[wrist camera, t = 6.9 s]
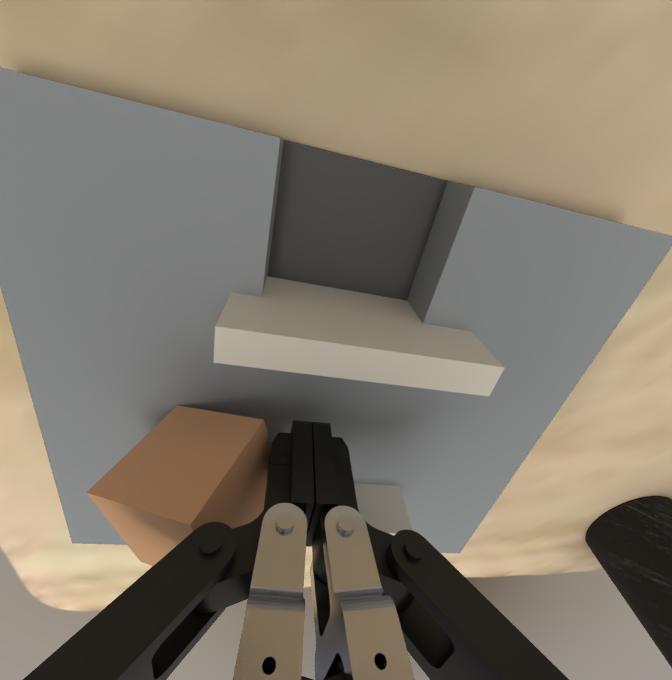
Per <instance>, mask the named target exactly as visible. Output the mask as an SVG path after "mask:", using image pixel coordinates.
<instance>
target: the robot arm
mask: <svg viewBox="0 0 672 680" xmlns="http://www.w3.org/2000/svg"><path fill="white" fill-rule="evenodd" d="M351 470H352V468H351V462H350V455H349V449H348V447H347V445H346V443H345V442H344V440H343V439H342V438H341V437H332V432H331V424H330V423H322V422H312V423H311V422H310V421H299V420H293V422H292V427H291V432H290V433H281V432H279V433H278V434H277V436H276V437H275V439H274V440H273V442H272V446H271V453H270V459H269V465H268V473H267V483H266V492H265V501H264V510H263V511H262V513H261V514H260V515H259V516H258V517H257V518H256V519H255V520H254V521H252V522H250V523H248V524H245V525H242V526H239V527H236V528H231V527H229V526H228V525H227V524H224V523H221V522H209V523H206V524H203V525H201V526H199V527H198V528H197V529H195V530H194V531H193V532H192V533H191V534H189V535H188V536H187V537H186V538H185V539H184V540H183V541H181V542H180V543H179V544H178V545H177V546H176V547H175V548H173V549H172V550H171V551H170V552H169V553H168V554H166V555H165V556H164V557H163V558H162V559H161V560H160V561H158V562H157V563H156V564H155V565H154V566H153V567H152V568H150V569H149V570H148V571H147V572H146V573H145V574H144V575H142V576H141V577H140V578H139V579H138V580H137V581H136V582H134V583H133V584H132V585H131V586H130V587H129V588H128V589H126V590H125V591H124V592H123V593H122V594H121V595H119V596H118V597H117V598H116V599H115V600H114V601H113V602H111V603H110V604H109V605H108V606H107V607H106V608H105V609H103V610H102V611H101V612H100V613H99V614H98V615H97V616H95V617H94V618H93V619H92V620H91V621H90V622H89V623H87V624H86V625H85V626H84V627H83V628H82V629H81V630H79V631H78V632H77V633H76V634H75V635H74V636H72V637H71V638H70V639H69V640H68V641H67V642H66V643H64V644H63V645H62V646H61V647H60V648H59V649H58V650H57V651H55V652H54V653H53V654H52V655H51V656H50V657H48V658H47V659H46V660H45V661H44V662H43V663H42V664H40V665H39V666H38V667H37V668H36V669H35V670H34V671H32V672H31V673H30V674H29V675H28V676H27V677H25V678H24V679H23V680H166V679H167V678H168V677H169V675H170V674H171V673H172V672H173V670H174V669H175V668H176V667H177V666H178V665H179V663H180V662H181V661H182V660H183V659H184V657H185V656H186V655H187V654H188V653H189V652H190V650H191V649H192V648H193V647H194V646H195V644H196V643H197V642H198V641H199V640H200V639H201V637H202V636H203V635H204V634H205V633H206V631H207V630H208V629H209V628H210V627H211V625H212V624H213V623H214V622H215V621H216V619H217V618H218V617H219V616H220V615H221V613H222V612H223V611H224V610H225V608H226V607H228V606H231V605H233V604H236V603H238V602H241V601H243V600H246V599H248V601H247V606H246V611H245V617H244V622H243V628H242V633H241V638H240V644H239V649H238V654H237V660H236V665H235V670H234V676H233V680H312V679H309V678H306V677H303V676H301V672H302V654H303V637H304V636H303V635H304V619H305V600H304V598H303V586H304V570H305V554H306V546H312V550H313V560H312V563H311V567H310V577H311V588H312V599H313V611H314V623H315V633H316V651H315V680H415V679H414V674H413V671H412V667H411V663H410V659H409V655H408V652H409V653H410V654H411V656H412V657H413V658H414V659H415V661H416V662H417V663H418V665H419V666H420V667H421V668H422V670H423V671H424V672H425V673H426V675H427V676H428V677H429V678H430V680H569V679H568V678H567V677H566V676H565V675H563V673H562V672H561V671H559V670H558V669H557V668H556V667H555V666H554V665H553V664H552V663H551V662H550V661H549V660H548V659H547V658H546V657H545V656H544V655H543V654H542V653H541V652H540V651H539V650H538V649H537V648H536V647H535V646H534V645H533V644H532V643H531V642H530V641H529V640H528V639H527V638H526V637H525V636H524V635H523V634H522V633H521V632H520V631H519V630H518V629H517V628H516V627H515V626H514V625H513V624H512V623H511V622H510V621H509V620H508V619H507V618H506V617H505V616H504V615H502V613H501V612H499V610H498V609H496V608H495V607H494V606H493V605H492V604H491V603H490V602H489V601H488V600H487V599H486V598H485V597H484V596H483V595H482V594H481V593H480V592H479V591H478V590H477V589H476V588H475V587H474V586H473V585H472V584H471V583H470V582H469V581H468V580H467V579H466V578H465V577H464V576H463V575H462V574H461V573H460V572H459V571H458V570H457V569H456V568H455V567H454V566H453V565H452V564H451V563H450V562H449V561H448V560H447V559H446V558H445V557H444V556H443V555H442V554H441V553H440V552H439V551H438V550H436V549H435V548H434V547H433V546H432V545H431V544H430V543H429V542H428V541H427V540H426V539H425V538H424V537H423V536H422V535H420V534H419V533H417V532H415V531H412V530H401V531H398V532H397V533H396V534H395V535H391V534H389V533H386V532H384V531H381V530H378V529H376V528H374V527H372V526H371V525H370V524H368V523H367V522H366V521H365V520H364V518H363V517H362V515H361V514H360V512H359V509H358V506H357V499H356V493H355V487H354V480H353V474H352V471H351ZM407 651H408V652H407Z"/></svg>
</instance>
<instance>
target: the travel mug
mask: <svg viewBox="0 0 672 680" xmlns="http://www.w3.org/2000/svg"><path fill="white" fill-rule="evenodd" d="M586 541H587V544H588V546H589V547H590V549H591V551H592V552H593V554H594V555H595V556H596V558H597V559H598V561H599V562H600V564H601V565H602V567H603V568H604V570H605V571H606V573H607V574H608V575H609V577H610V578H611V580H612V581H613V583H614V584H615V586H616V587H617V589H618V590H619V592H620V593H621V595H622V596H623V597H624V599H625V600H626V602H627V603H628V605H629V606H630V608H631V609H632V610H633V612H634V613H635V615H636V616H637V618H638V619H639V621H640V622H641V623H642V625H643V626H644V628H645V629H646V631H647V632H648V634H649V635H650V637H651V638H652V640H653V641H654V643H655V644H656V645H657V647H658V648H659V650H660V651H661V653H662V654H663V655H664V657H665V658H666V660H667V661H668V663H669V664H670V666H671V667H672V500H671V499H669V498H666V497H645V498H640V499H637V500H633V501H630V502H627V503H625V504H622V505H620V506H618V507H616V508H614V509H612V510H610V511H608V512H607V513H605V514H604V515H602V516H601V517H600V518H599V519H597V520H596V521H595V522H594V523H593V524H592V525H591V527H590V528H589V530H588V532H587V534H586Z"/></svg>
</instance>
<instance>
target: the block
mask: <svg viewBox="0 0 672 680" xmlns="http://www.w3.org/2000/svg"><path fill="white" fill-rule="evenodd" d="M271 446H272V445H271V441H270V438H269V435H268V432H267V428H266V425H265V422H264V420H263V419H257V418H251V417H245V416H239V415H233V414H227V413H221V412H215V411H209V410H203V409H197V408H191V407H184V406H178V405H177V406H176V407H175V408H174V409H173V410H172V411H171V412H170V413H169V414H168V415H167V416H166V417H165V418H164V419H163V420H162V421H161V422H159V423H158V424H157V425H156V426H155V427H154V428H153V429H152V430H151V431H150V432H149V433H148V434H147V435H146V436H145V437H144V438H143V439H142V440H141V441H140V442H139V443H138V444H137V445H135V446H134V447H133V448H132V449H131V450H130V451H129V452H128V453H127V454H126V455H125V456H124V457H123V458H122V459H121V460H120V461H119V462H118V463H117V464H116V465H115V466H114V467H113V468H111V469H110V470H109V471H108V472H107V473H106V474H105V475H104V476H103V477H102V478H101V479H100V480H99V481H98V482H97V483H96V484H95V485H94V486H93V487H92V488H91V489H90V490H88V491H87V492H86V493H87V494H88V496H89V497H90V498H91V499H92V501H93V502H94V503H95V504H96V506H97V507H98V508H99V509H100V511H101V512H102V513H103V515H104V516H105V517H106V518H107V520H108V521H109V522H110V523H111V525H112V526H113V527H114V528H115V530H116V531H117V532H118V533H119V535H120V536H121V537H122V539H123V540H124V541H125V542H126V544H127V545H128V546H129V547H130V549H131V550H132V551H133V552H134V554H135V555H136V556H137V558H138V559H139V560H140V561H141V562H144V563H147V564H149V565H152V566H154V565H155V564H156V563H157V562H158V561H160V560H161V559H162V558H163V557H164V556H165V555H166V554H168V553H169V552H170V551H171V550H172V549H173V548H175V547H176V546H177V545H178V544H179V543H180V542H181V541H183V540H184V539H185V538H186V537H187V536H188V535H189V534H191V533H192V532H193V531H194V530H195V529H197V528H198V527H199V526H201V525H203V524H206V523H209V522H221V523H224V524H227V525H228V526H229V527H231V528H236V527H239V526H242V525H245V524H248V523H250V522H252V521H254V520H255V519H256V518H257V517H258V516H259V515H260V514H261V513H262V511H263V510H264V501H265V492H266V483H267V473H268V465H269V459H270V453H271Z"/></svg>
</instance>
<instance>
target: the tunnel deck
mask: <svg viewBox="0 0 672 680" xmlns="http://www.w3.org/2000/svg"><path fill="white" fill-rule="evenodd" d="M671 247H672V236H670V235H666V234H662V233H658V232H654V231H650V230H646V229H642V228H638V227H634V226H630V225H626V224H622V223H618V222H614V221H610V220H606V219H602V218H598V217H594V216H590V215H586V214H582V213H578V212H574V211H570V210H566V209H562V208H558V207H554V206H550V205H546V204H542V203H538V202H534V201H530V200H526V199H522V198H518V197H514V196H510V195H506V194H502V193H498V192H494V191H490V190H486V189H482V188H478V187H474V186H470V185H465V184H460V183H455V182H450V181H446V180H442V179H438V178H434V177H430V176H426V175H422V174H418V173H414V172H410V171H406V170H402V169H398V168H394V167H390V166H386V165H382V164H378V163H374V162H370V161H366V160H362V159H358V158H354V157H350V156H346V155H342V154H338V153H334V152H330V151H326V150H322V149H318V148H314V147H310V146H306V145H302V144H298V143H294V142H290V141H286V140H283V139H281V138H279V137H275V136H271V135H267V134H263V133H259V132H255V131H251V130H247V129H243V128H239V127H235V126H231V125H227V124H223V123H219V122H215V121H211V120H207V119H203V118H199V117H195V116H191V115H187V114H183V113H179V112H175V111H171V110H167V109H163V108H159V107H155V106H151V105H147V104H143V103H139V102H135V101H131V100H127V99H123V98H119V97H115V96H111V95H107V94H103V93H99V92H95V91H91V90H87V89H84V88H80V87H76V86H72V85H68V84H64V83H60V82H56V81H52V80H48V79H44V78H40V77H36V76H32V75H28V74H24V73H20V72H16V71H12V70H8V69H4V68H0V286H1V290H2V294H3V297H4V301H5V304H6V308H7V311H8V315H9V319H10V322H11V326H12V329H13V333H14V337H15V340H16V344H17V347H18V351H19V354H20V358H21V362H22V365H23V369H24V372H25V376H26V379H27V383H28V387H29V390H30V394H31V397H32V401H33V405H34V408H35V412H36V415H37V419H38V422H39V426H40V430H41V433H42V437H43V440H44V444H45V447H46V451H47V455H48V458H49V462H50V465H51V469H52V472H53V476H54V480H55V483H56V487H57V490H58V494H59V498H60V501H61V505H62V508H63V512H64V515H65V519H66V523H67V526H68V530H69V533H70V537H71V540H72V543H82V544H121V545H127V544H126V542H125V541H124V540H123V539H122V537H121V536H120V535H119V533H118V532H117V531H116V530H115V528H114V527H113V526H112V525H111V523H110V522H109V521H108V520H107V518H106V517H105V516H104V515H103V513H102V512H101V511H100V509H99V508H98V507H97V506H96V504H95V503H94V502H93V501H92V499H91V498H90V497H89V496H88V494H87V493H86V492H87V491H88V490H90V489H91V488H92V487H93V486H94V485H95V484H96V483H97V482H98V481H99V480H100V479H101V478H102V477H103V476H104V475H105V474H106V473H107V472H108V471H109V470H110V469H111V468H113V467H114V466H115V465H116V464H117V463H118V462H119V461H120V460H121V459H122V458H123V457H124V456H125V455H126V454H127V453H128V452H129V451H130V450H131V449H132V448H133V447H134V446H135V445H137V444H138V443H139V442H140V441H141V440H142V439H143V438H144V437H145V436H146V435H147V434H148V433H149V432H150V431H151V430H152V429H153V428H154V427H155V426H156V425H157V424H158V423H159V422H161V421H162V420H163V419H164V418H165V417H166V416H167V415H168V414H169V413H170V412H171V411H172V410H173V409H174V408H175V407H176V406H177V405H178V406H184V407H191V408H197V409H203V410H209V411H215V412H221V413H227V414H233V415H239V416H245V417H251V418H257V419H263V420H264V422H265V425H266V428H267V432H268V435H269V438H270V441H271V445H272V442H273V440H274V439H275V437H276V436H277V434H278V433H279V432H281V433H290V432H291V427H292V422H293V420H299V421H310V422H311V423H312V422H322V423H330V424H331V432H332V437H341V438H342V439H343V440H344V442H345V443H346V445H347V447H348V449H349V455H350V462H351V468H352V470H351V471H352V474H353V480H354V487H355V493H356V499H357V506H358V509H359V512H360V514H361V515H362V517H363V518H364V520H365V521H366V522H367V523H368V524H370V525H371V526H372V527H374V528H376V529H378V530H381V531H384V532H386V533H389V534H391V535H395V534H396V533H397V532H398V531H401V530H412V531H415V532H417V533H419V534H420V535H422V536H423V537H424V538H425V539H426V540H427V541H428V542H429V543H430V544H431V545H432V546H433V547H434V548H435V549H436V550H438V551H439V552H440V553H460V552H461V551H462V549H463V548H464V546H465V545H466V543H467V542H468V540H469V539H470V538H471V536H472V535H473V533H474V532H475V530H476V529H477V527H478V526H479V525H480V523H481V522H482V520H483V519H484V517H485V516H486V514H487V513H488V511H489V510H490V509H491V507H492V506H493V504H494V503H495V501H496V500H497V498H498V497H499V496H500V494H501V493H502V491H503V490H504V488H505V487H506V485H507V484H508V483H509V481H510V480H511V478H512V477H513V475H514V474H515V472H516V471H517V470H518V468H519V467H520V465H521V464H522V462H523V461H524V459H525V458H526V457H527V455H528V454H529V452H530V451H531V449H532V448H533V446H534V445H535V444H536V442H537V441H538V439H539V438H540V436H541V435H542V433H543V432H544V431H545V429H546V428H547V426H548V425H549V423H550V422H551V420H552V419H553V418H554V416H555V415H556V413H557V412H558V410H559V409H560V407H561V406H562V404H563V403H564V402H565V400H566V399H567V397H568V396H569V394H570V393H571V391H572V390H573V389H574V387H575V386H576V384H577V383H578V381H579V380H580V378H581V377H582V376H583V374H584V373H585V371H586V370H587V368H588V367H589V365H590V364H591V363H592V361H593V360H594V358H595V357H596V355H597V354H598V352H599V351H600V350H601V348H602V347H603V345H604V344H605V342H606V341H607V339H608V338H609V337H610V335H611V334H612V332H613V331H614V329H615V328H616V326H617V325H618V324H619V322H620V321H621V319H622V318H623V316H624V315H625V313H626V312H627V311H628V309H629V308H630V306H631V305H632V303H633V302H634V300H635V299H636V298H637V296H638V295H639V293H640V292H641V290H642V289H643V287H644V286H645V284H646V283H647V282H648V280H649V279H650V277H651V276H652V274H653V273H654V271H655V270H656V269H657V267H658V266H659V264H660V263H661V261H662V260H663V258H664V257H665V256H666V254H667V253H668V251H669V250H670V248H671ZM310 547H312V546H310Z"/></svg>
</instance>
